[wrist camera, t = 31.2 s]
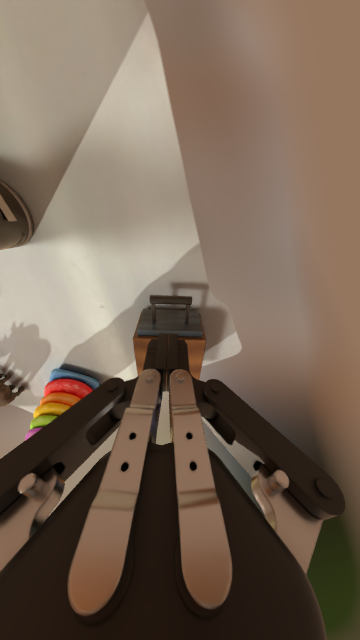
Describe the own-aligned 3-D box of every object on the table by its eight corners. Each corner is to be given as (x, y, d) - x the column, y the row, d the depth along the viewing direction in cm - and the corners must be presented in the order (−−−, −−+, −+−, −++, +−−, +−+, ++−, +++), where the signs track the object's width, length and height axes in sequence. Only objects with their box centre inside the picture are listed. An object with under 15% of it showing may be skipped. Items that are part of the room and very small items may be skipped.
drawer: (141, 284, 32) (133, 302, 26) (201, 286, 32) (207, 304, 26) (147, 355, 42) (142, 380, 36) (192, 356, 43) (195, 380, 37)
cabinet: (141, 311, 36) (132, 338, 28) (199, 313, 37) (206, 340, 29) (145, 359, 44) (139, 390, 37) (193, 359, 45) (197, 390, 37)
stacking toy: (92, 400, 54) (46, 508, 34) (49, 388, 50) (-31, 502, 31) (106, 376, 48) (58, 492, 28) (57, 360, 44) (-37, 482, 24)
